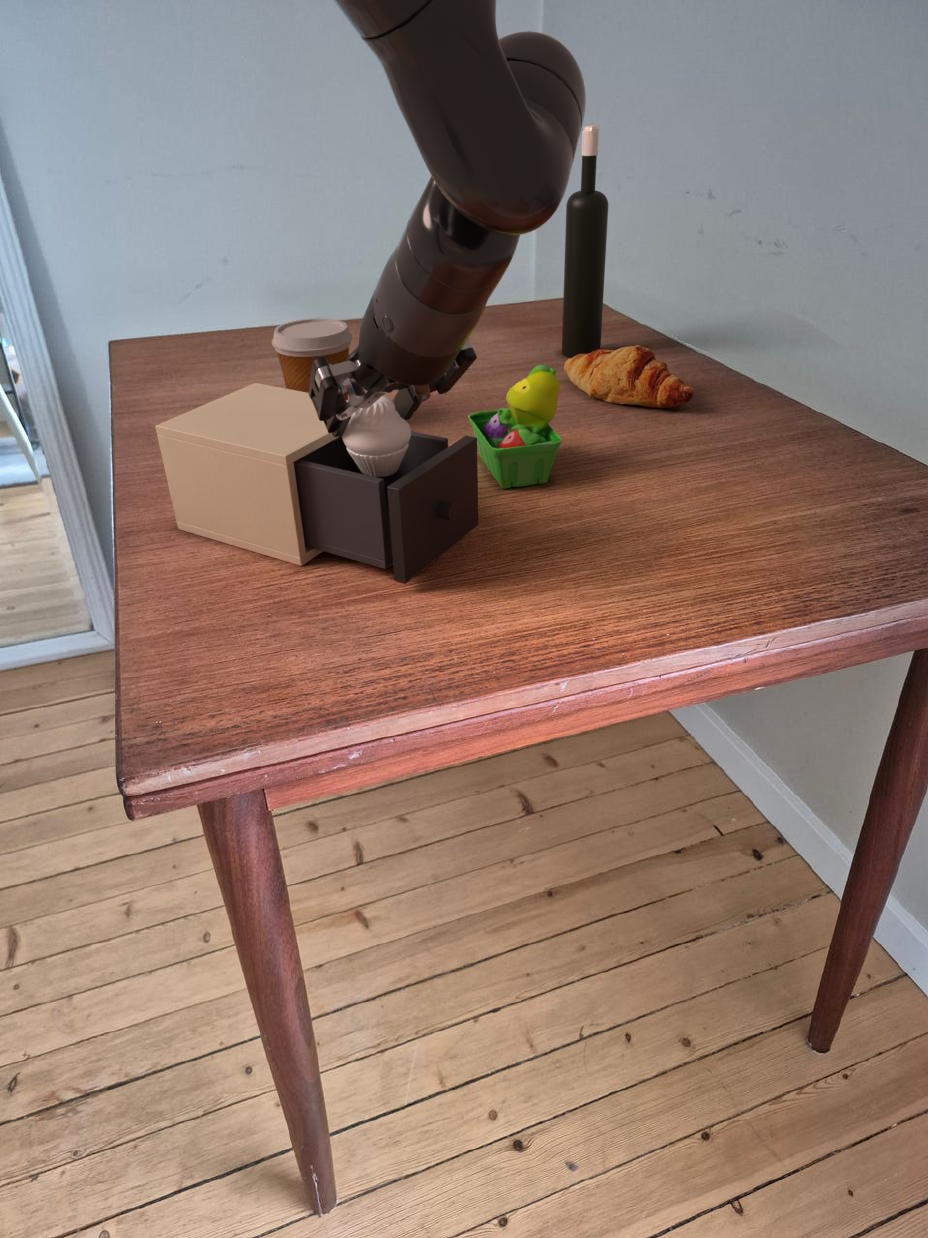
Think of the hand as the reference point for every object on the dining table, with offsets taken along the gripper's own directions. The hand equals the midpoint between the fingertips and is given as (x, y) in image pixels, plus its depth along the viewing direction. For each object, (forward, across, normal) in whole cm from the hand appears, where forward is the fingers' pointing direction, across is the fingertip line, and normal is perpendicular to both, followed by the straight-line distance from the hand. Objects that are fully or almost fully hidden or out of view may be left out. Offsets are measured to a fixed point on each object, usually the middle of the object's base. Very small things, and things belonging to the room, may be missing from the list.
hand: (367, 419), depth 80 cm
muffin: (+2, 0, +4) cm, 5 cm away
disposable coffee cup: (+31, -8, -14) cm, 35 cm away
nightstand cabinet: (+15, +6, +2) cm, 16 cm away
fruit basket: (+13, -20, +4) cm, 25 cm away
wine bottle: (+34, -52, -17) cm, 65 cm away
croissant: (+22, -46, -4) cm, 51 cm away
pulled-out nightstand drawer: (+7, 0, +9) cm, 11 cm away
